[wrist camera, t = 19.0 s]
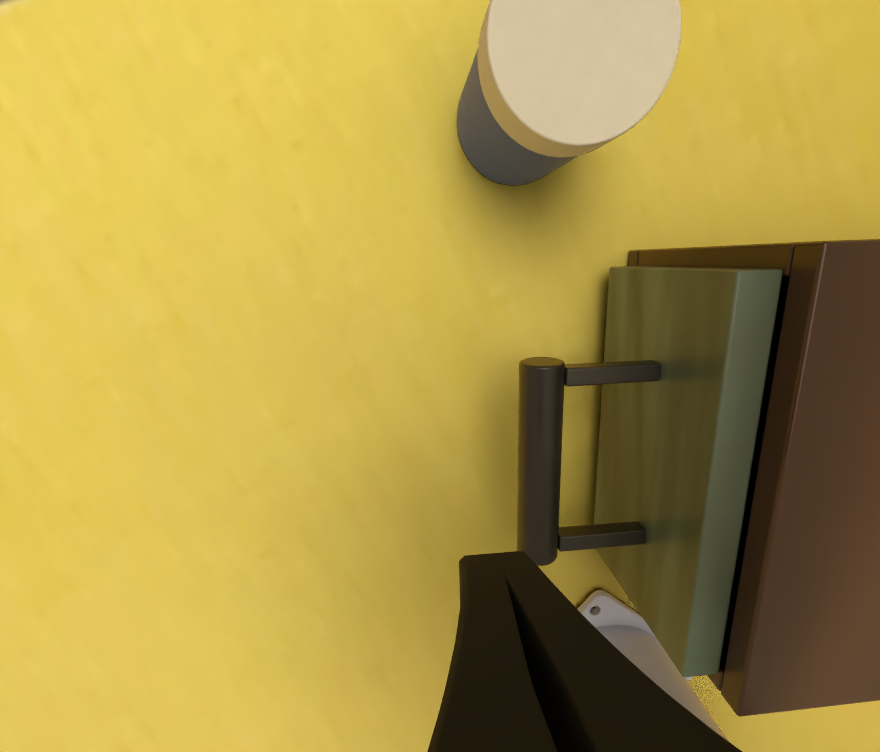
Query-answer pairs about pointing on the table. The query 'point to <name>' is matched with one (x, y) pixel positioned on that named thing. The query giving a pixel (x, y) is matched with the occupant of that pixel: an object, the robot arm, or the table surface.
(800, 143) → the table surface
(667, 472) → the drawer
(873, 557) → the cabinet
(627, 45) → the medicine bottle
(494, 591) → the robot arm
